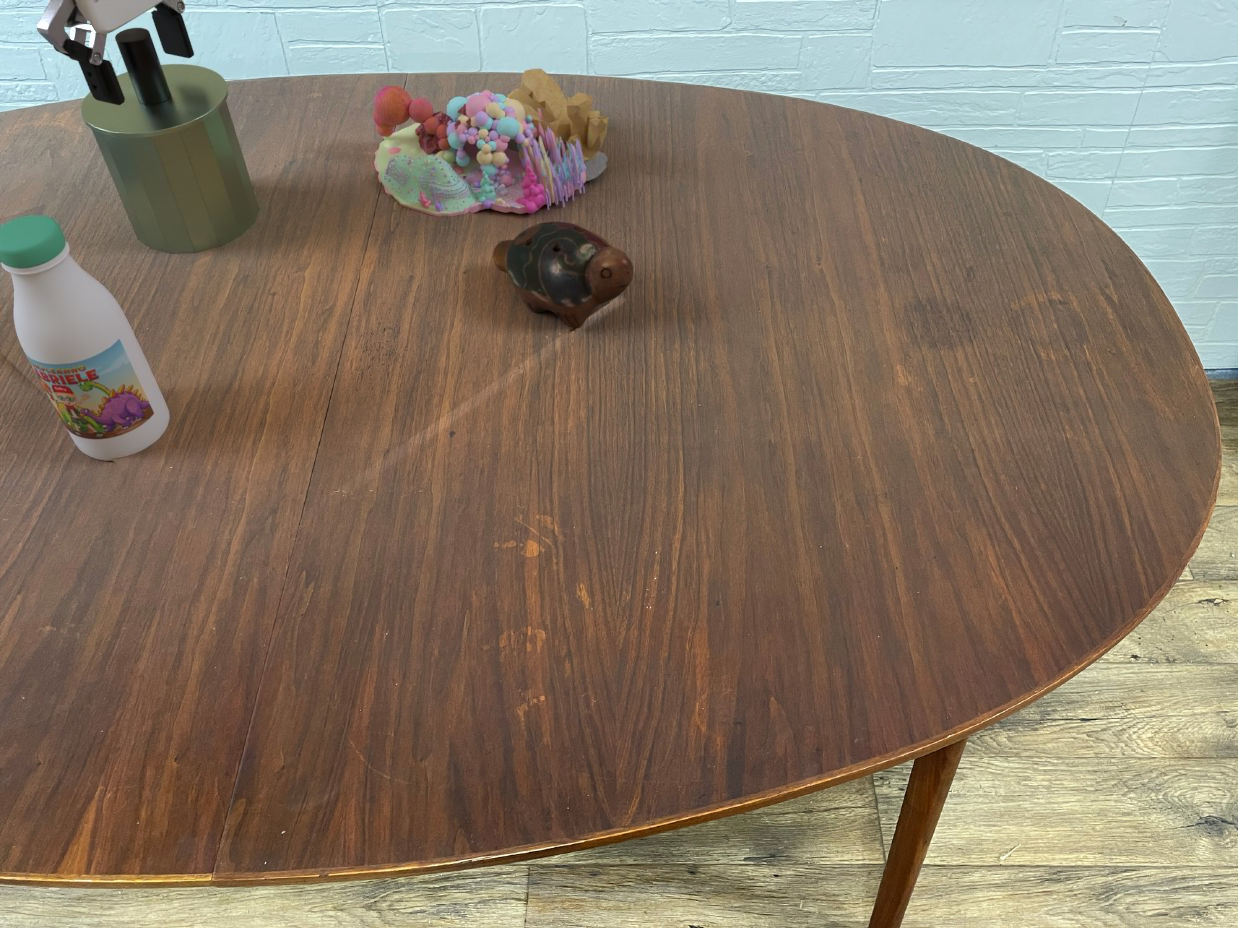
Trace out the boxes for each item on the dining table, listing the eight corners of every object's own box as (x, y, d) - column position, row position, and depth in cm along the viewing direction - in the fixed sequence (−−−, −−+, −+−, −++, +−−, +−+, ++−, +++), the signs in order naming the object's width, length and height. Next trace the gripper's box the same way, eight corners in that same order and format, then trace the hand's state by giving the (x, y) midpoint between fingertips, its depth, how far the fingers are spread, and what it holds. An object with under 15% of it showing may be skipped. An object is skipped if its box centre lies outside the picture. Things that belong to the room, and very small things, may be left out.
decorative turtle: (615, 355, 94) (606, 284, 88) (475, 317, 99) (457, 248, 93) (662, 290, 99) (656, 220, 93) (526, 258, 105) (512, 189, 99)
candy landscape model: (531, 91, 127) (526, 16, 120) (646, 175, 114) (647, 96, 107) (344, 156, 118) (326, 78, 111) (446, 256, 104) (433, 175, 98)
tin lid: (130, 160, 93) (100, 85, 88) (58, 111, 99) (26, 38, 94) (257, 104, 100) (237, 31, 95) (182, 61, 106) (159, -9, 101)
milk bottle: (91, 401, 90) (-14, 202, 76) (181, 396, 91) (93, 197, 76) (65, 466, 85) (-53, 266, 71) (160, 461, 86) (62, 260, 71)
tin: (178, 273, 103) (129, 150, 93) (114, 225, 109) (62, 105, 99) (283, 219, 109) (248, 99, 99) (217, 177, 115) (178, 59, 105)
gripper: (111, -160, 91) (174, 32, 104) (-44, -93, 80) (47, 113, 93) (180, -150, 89) (236, 45, 102) (31, -80, 78) (114, 129, 91)
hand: (146, 77), depth 97 cm, fingers open, 9 cm apart
